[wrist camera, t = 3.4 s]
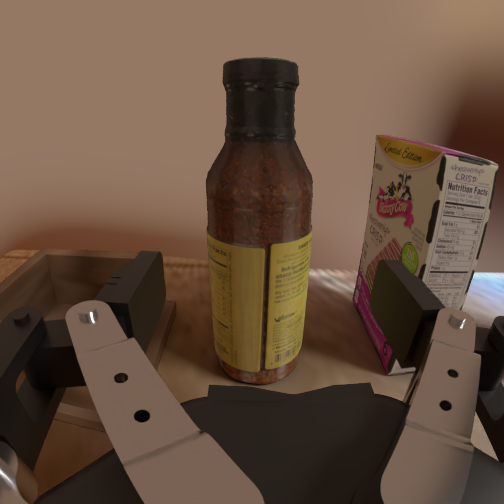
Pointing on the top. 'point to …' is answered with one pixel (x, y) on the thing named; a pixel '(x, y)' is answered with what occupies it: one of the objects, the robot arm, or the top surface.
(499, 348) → the robot arm
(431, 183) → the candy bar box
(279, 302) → the sauce bottle
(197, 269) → the top surface
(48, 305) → the walnut caddy
